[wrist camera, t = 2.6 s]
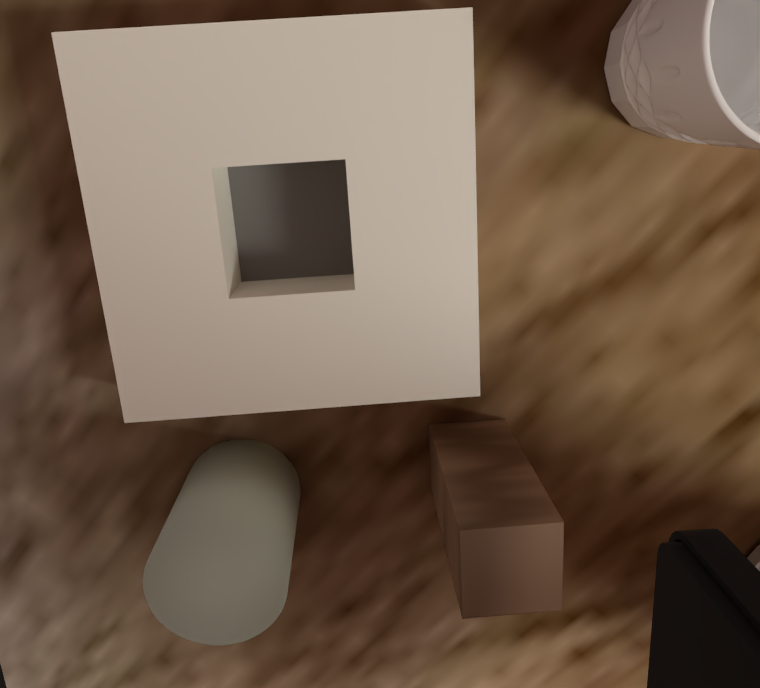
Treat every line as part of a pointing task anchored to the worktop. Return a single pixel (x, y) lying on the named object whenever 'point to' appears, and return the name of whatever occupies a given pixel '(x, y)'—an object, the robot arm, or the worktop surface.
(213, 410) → the cream socket block
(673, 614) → the robot arm
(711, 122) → the white cup
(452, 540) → the walnut square peg
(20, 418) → the worktop surface
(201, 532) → the sage round peg
